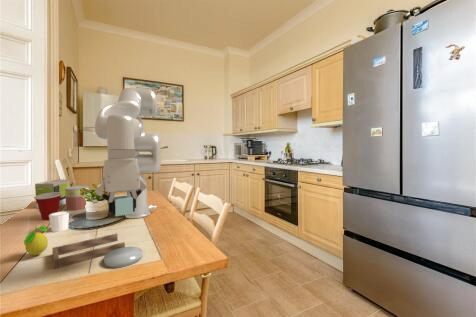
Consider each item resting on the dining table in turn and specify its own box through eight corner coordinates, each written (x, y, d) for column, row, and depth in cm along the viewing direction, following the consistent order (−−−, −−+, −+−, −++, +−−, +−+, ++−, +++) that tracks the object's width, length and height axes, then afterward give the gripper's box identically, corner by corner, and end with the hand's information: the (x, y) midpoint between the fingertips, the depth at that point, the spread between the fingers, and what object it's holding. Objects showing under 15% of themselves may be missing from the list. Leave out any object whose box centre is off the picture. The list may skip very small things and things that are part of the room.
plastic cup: (29, 220, 110) (28, 195, 109) (54, 214, 120) (53, 191, 119) (43, 223, 106) (42, 197, 105) (68, 216, 116) (67, 193, 115)
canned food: (82, 204, 139) (81, 185, 138) (93, 207, 134) (93, 186, 133) (61, 209, 129) (60, 188, 128) (73, 212, 124) (72, 190, 123)
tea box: (54, 202, 144) (53, 179, 143) (71, 202, 145) (70, 179, 144) (35, 209, 129) (34, 183, 128) (54, 208, 130) (53, 182, 129)
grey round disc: (136, 247, 81) (136, 243, 81) (147, 259, 73) (147, 255, 73) (100, 257, 74) (100, 253, 74) (108, 272, 66) (108, 267, 65)
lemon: (48, 248, 80) (47, 220, 79) (52, 254, 76) (51, 224, 76) (22, 255, 75) (20, 226, 74) (25, 261, 71) (23, 230, 70)
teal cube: (128, 209, 76) (128, 195, 76) (133, 213, 73) (132, 197, 72) (111, 212, 73) (111, 197, 73) (115, 216, 69) (115, 200, 69)
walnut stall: (116, 239, 88) (116, 233, 88) (124, 249, 79) (124, 242, 79) (52, 255, 75) (52, 247, 75) (54, 269, 67) (53, 260, 67)
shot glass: (58, 233, 94) (57, 216, 94) (45, 231, 95) (44, 215, 95) (73, 227, 101) (73, 211, 100) (60, 226, 102) (60, 210, 102)
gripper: (145, 154, 80) (146, 205, 81) (87, 155, 69) (89, 214, 70) (153, 155, 74) (153, 210, 75) (91, 156, 63) (93, 221, 64)
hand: (122, 211), depth 72 cm, fingers closed on teal cube, 5 cm apart
